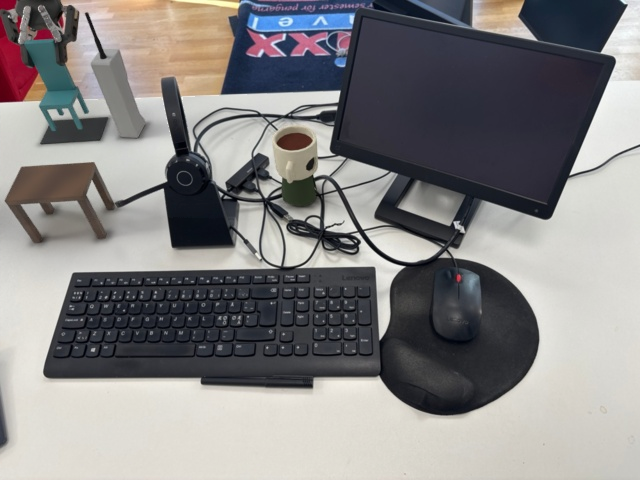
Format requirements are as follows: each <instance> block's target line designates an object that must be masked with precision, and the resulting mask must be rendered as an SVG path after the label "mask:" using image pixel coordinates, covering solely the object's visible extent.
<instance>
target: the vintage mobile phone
mask: <svg viewBox="0 0 640 480" xmlns="http://www.w3.org/2000/svg"><path fill="white" fill-rule="evenodd" d="M84 16H85V19H86V21H87V24H88V25H89V28H90V31H91V34H92V36H93V40H94V43H95V45H96V48H97V50H98V52H97V53H96V55H95V56H94V57H93V59H92V60H91V62H90V67H91V69H92V73H93V75H94V77H95V79H96V81H97V84H98V86H99V89H100V92H101V93H102V96H103V100H104V101H105V103H106V105H107V108H108V110H109V114H110V116H111V118H112V120H113V122H114V125H115V128H116V130H117V132H118V135H119V137H120V138H127V139H128V138H131V139H138V138H139V136H140V135H141V133H142V131H143V128H144V127H145V126H146V119H145V118H144V117H143V115H142V114H141V113H140V111H139V107H138V104H137V102H136V100H135V96H134V94H133V91H132V87H131V85H130V82H129V78H128V72H127V69H126V66H125V63H124V59H123V56H122V53H121V50H120V48H103V45H102V42H101V39H100V38H99V37H98V35H97V32H96V29H95V26H94V24H93V21H92V19H91V16H90V13H89V12H88V11H87V12H86V11H85V12H84Z"/></svg>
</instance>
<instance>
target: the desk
mask: <svg viewBox="0 0 640 480" xmlns="http://www.w3.org/2000/svg"><path fill="white" fill-rule="evenodd" d="M91 183H93V185H94V187H95V189H96V191H97V193H98V195H99V197H100V199H101V201H102V203H103V205H104V207H105V209H106V210H107V211H111V210H113V211H114V209H115V206H116V204H115V202H114V200H113V198H112V196H111V193H110V192H109V189H108V187H107V185H106V183H105V181H104V179H103V177H102V175H101V173H100V171H99V169H98V166H97V164H96V162H95V161H88V162H73V163H56V164H41V165H27V166H26V165H25V166H20V168H19V170H18V172H17V174H16V177H15V178H14V180H13V183H12V184H11V187H10V189H9V191H8V193H7V195H6V196H5V199H4V202H5V203H4V204H6V206H7V207H8V208H9V210H10V211H11V213H12V214H13V215H14V217H15V218H16V219H17V221H18V222H19V224H20V225H21V227H22V228H23V230H24V231H25V233H27V236H28V237H29V238H30V240H31V241H32V242H33V243H34V244H40V243H42V241H43V238H44V237H43V236H42V234H41V233H40V231H39V229H38V228H37V226H36V225H35V223H34V222H33V220H32V219H31V217H30V216H29V214H28V213H27V212H26V210H25V209H24V208H23V207H24V206H22V205H33V204H34V205H35V204H39V205H40V207H41V209H42V210H43V212H44V213H45V214H46V215H49V214H50V215H51V214H53V213H54V211H55V207H54V206H53V204H52V203H66V202H77V203H78V205H79V207H80V209H81V210H82V212H83V214H84V216H85V218H86V219H87V221H88V223H89V225H90V227H91V228H92V230H93V232H94V234H95V236H96V237H97V239H98V240H101V239H106V236H107V231H106V229H105V227H104V226H103V224H102V222H101V220H100V218H99V216H98V214H97V212H96V210H95V208H94V206H93V205H92V203H91V201H90V199H89V197H88V192H89V189H90V185H91Z"/></svg>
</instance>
